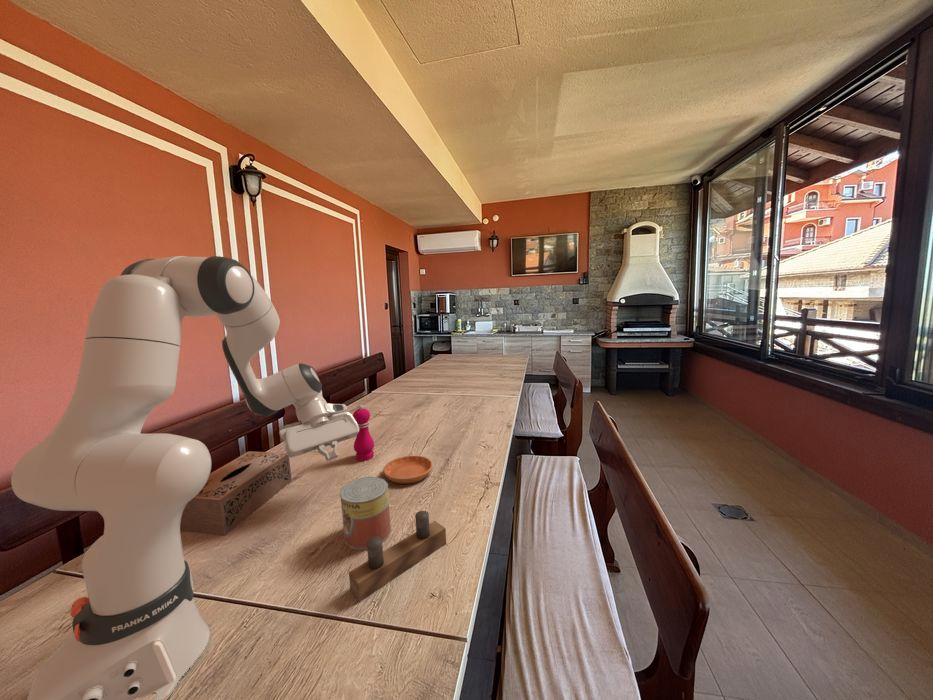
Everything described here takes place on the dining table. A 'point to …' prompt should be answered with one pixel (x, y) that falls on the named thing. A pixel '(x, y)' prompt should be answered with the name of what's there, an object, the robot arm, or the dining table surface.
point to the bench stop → (396, 556)
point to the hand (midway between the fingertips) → (332, 458)
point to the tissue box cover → (236, 492)
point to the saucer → (408, 469)
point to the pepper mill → (363, 435)
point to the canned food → (365, 511)
